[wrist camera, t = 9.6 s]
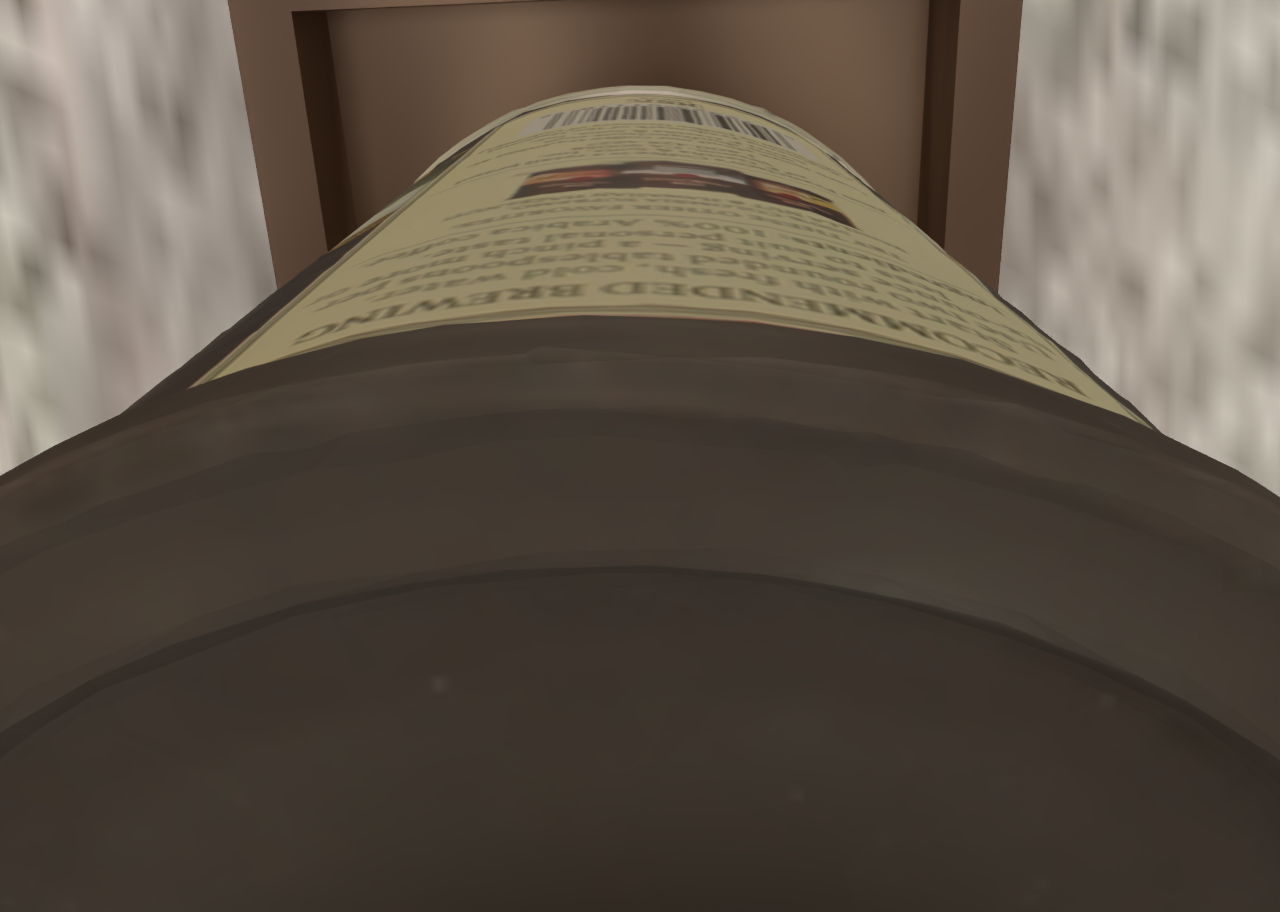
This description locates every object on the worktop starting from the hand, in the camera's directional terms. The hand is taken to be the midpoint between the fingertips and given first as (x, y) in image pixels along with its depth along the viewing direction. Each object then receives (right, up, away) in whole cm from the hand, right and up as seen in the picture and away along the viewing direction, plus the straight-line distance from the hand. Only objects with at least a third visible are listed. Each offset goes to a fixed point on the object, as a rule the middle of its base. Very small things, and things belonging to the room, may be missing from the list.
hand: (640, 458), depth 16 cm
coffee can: (0, +1, +3) cm, 3 cm away
